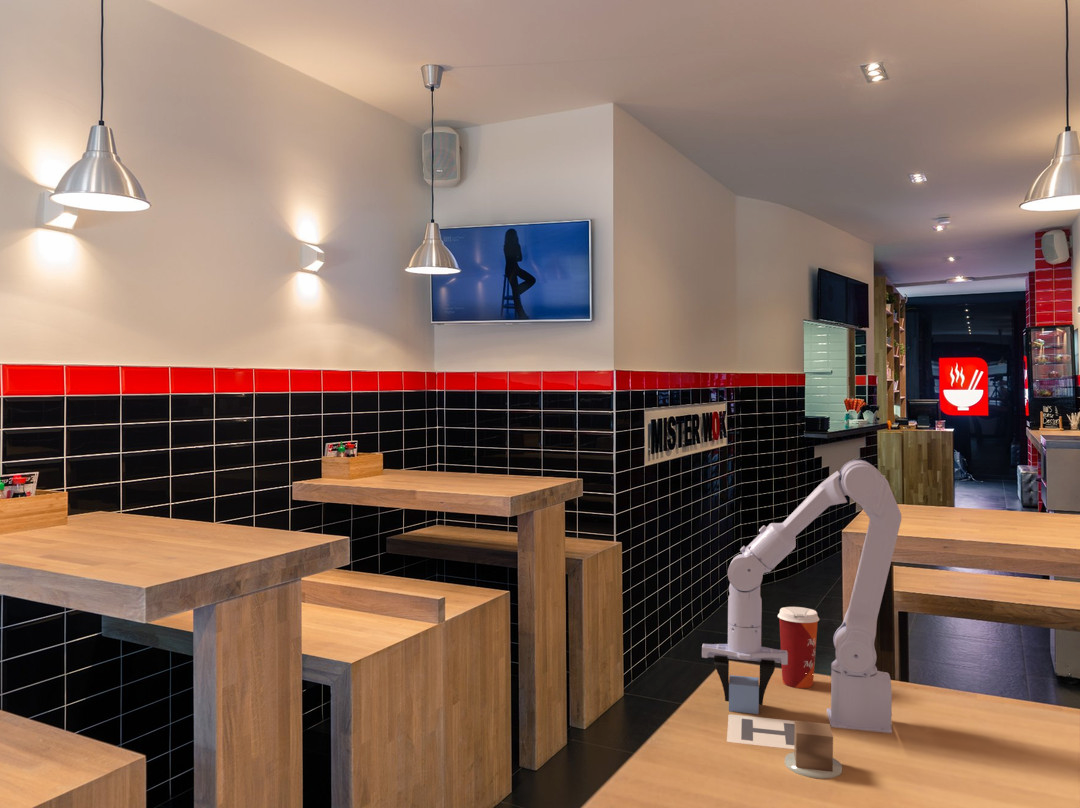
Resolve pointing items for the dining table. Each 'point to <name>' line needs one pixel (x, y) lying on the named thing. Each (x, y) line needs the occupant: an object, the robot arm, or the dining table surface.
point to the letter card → (761, 731)
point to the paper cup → (798, 645)
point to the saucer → (813, 773)
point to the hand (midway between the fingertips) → (743, 701)
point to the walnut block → (813, 746)
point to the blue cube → (744, 694)
